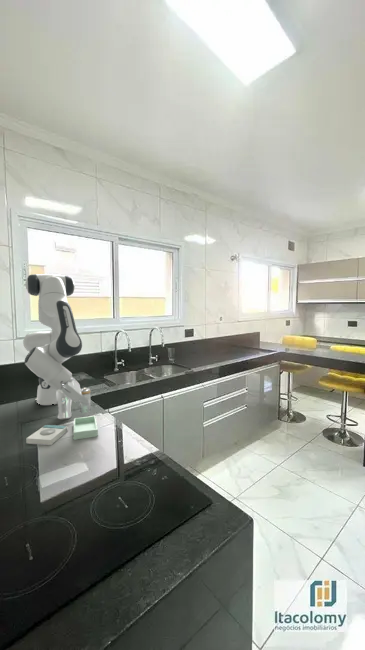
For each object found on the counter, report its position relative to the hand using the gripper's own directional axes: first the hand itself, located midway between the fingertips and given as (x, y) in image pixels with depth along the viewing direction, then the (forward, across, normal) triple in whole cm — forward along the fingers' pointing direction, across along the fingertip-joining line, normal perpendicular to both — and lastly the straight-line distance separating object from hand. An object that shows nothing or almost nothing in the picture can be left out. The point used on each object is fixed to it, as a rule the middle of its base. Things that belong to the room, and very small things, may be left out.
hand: (86, 399), depth 118 cm
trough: (+9, 0, +10) cm, 13 cm away
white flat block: (-1, -1, +20) cm, 20 cm away
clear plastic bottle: (+3, +19, +15) cm, 24 cm away
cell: (+3, 0, +4) cm, 5 cm away
